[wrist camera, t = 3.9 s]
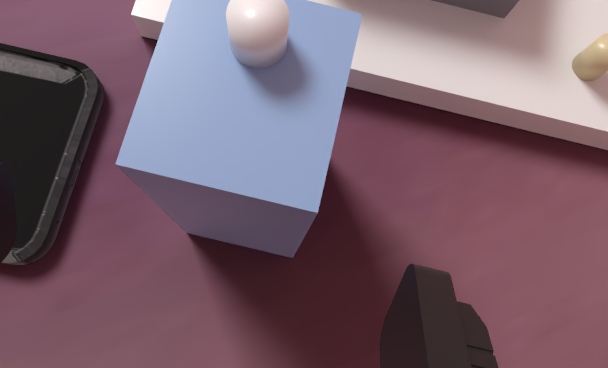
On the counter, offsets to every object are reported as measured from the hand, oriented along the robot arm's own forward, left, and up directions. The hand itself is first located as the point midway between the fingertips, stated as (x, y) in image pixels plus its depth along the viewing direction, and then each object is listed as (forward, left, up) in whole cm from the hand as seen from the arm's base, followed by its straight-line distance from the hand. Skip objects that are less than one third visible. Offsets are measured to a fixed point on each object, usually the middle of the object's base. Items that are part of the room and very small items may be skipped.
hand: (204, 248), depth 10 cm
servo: (0, +3, -8) cm, 9 cm away
